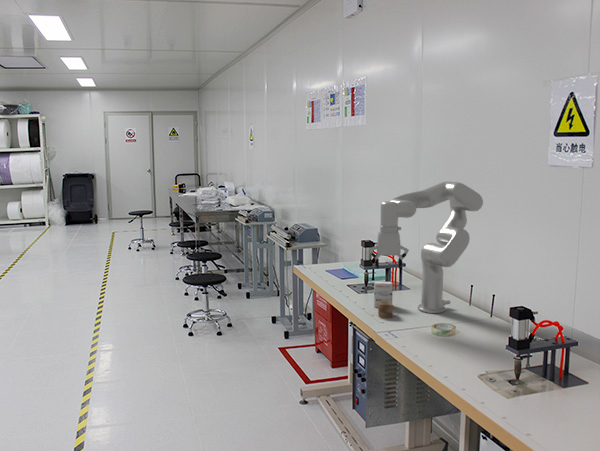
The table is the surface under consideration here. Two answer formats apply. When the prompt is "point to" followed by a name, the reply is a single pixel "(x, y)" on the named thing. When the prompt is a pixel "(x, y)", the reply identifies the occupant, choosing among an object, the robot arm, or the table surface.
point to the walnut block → (385, 309)
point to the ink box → (382, 292)
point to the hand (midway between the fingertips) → (388, 267)
